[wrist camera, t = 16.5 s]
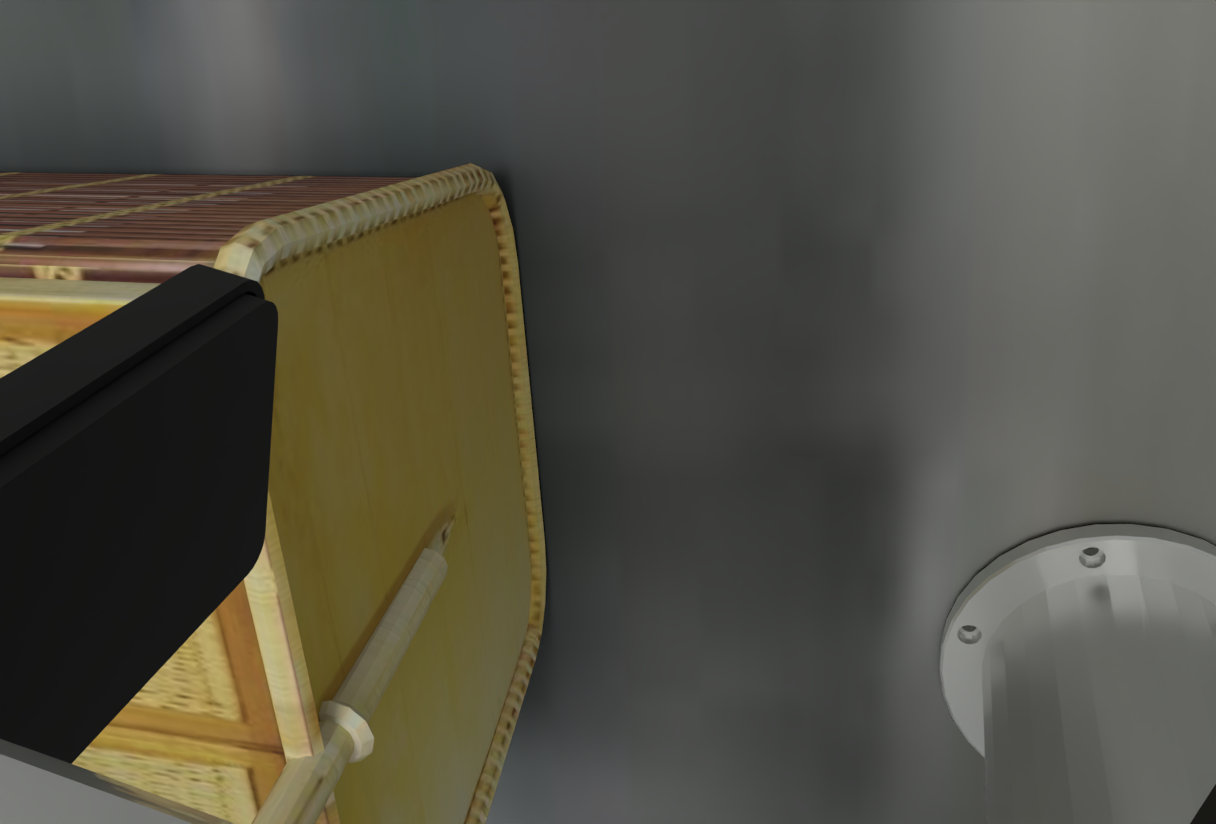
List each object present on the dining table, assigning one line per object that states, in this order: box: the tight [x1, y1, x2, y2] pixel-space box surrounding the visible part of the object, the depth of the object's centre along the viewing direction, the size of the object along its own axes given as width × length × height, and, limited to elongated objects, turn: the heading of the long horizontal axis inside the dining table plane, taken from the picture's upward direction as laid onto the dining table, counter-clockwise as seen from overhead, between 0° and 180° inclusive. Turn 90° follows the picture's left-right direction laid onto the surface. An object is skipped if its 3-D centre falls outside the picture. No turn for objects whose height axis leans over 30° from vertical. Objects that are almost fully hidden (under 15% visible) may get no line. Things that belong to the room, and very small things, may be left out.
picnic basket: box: [0, 163, 546, 824], centre depth 36 cm, size 29×26×30 cm
